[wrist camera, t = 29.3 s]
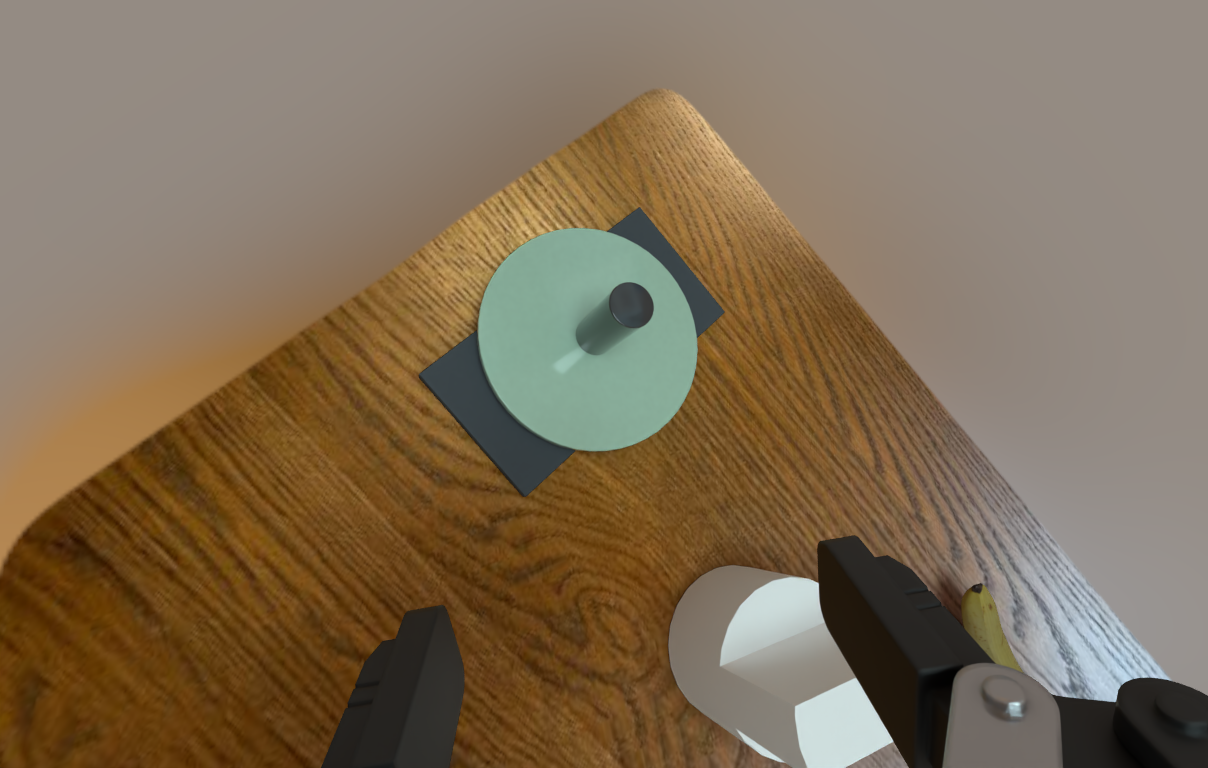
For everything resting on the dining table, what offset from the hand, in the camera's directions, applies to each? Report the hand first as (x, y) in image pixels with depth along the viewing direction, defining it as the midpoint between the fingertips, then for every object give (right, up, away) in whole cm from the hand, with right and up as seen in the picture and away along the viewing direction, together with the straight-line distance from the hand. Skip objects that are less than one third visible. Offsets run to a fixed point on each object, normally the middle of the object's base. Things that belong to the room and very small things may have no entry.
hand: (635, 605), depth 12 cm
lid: (-1, +7, +23) cm, 24 cm away
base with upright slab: (+7, -11, +24) cm, 27 cm away
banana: (+26, -13, +30) cm, 41 cm away
